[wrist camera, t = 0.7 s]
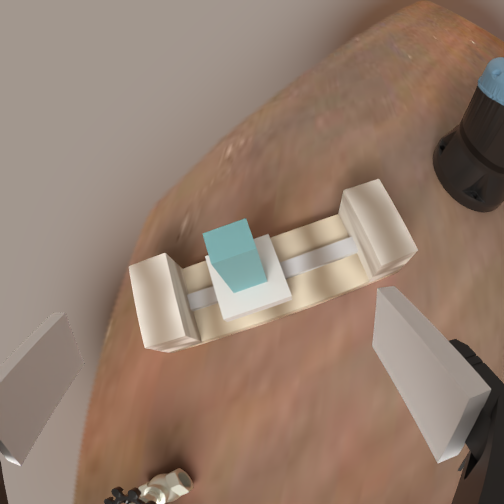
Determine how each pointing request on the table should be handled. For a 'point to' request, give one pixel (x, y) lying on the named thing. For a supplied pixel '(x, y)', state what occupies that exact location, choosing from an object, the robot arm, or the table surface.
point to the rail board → (293, 266)
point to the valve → (155, 490)
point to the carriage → (244, 271)
